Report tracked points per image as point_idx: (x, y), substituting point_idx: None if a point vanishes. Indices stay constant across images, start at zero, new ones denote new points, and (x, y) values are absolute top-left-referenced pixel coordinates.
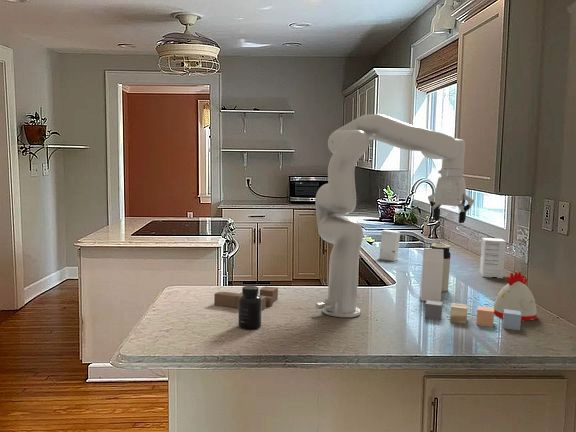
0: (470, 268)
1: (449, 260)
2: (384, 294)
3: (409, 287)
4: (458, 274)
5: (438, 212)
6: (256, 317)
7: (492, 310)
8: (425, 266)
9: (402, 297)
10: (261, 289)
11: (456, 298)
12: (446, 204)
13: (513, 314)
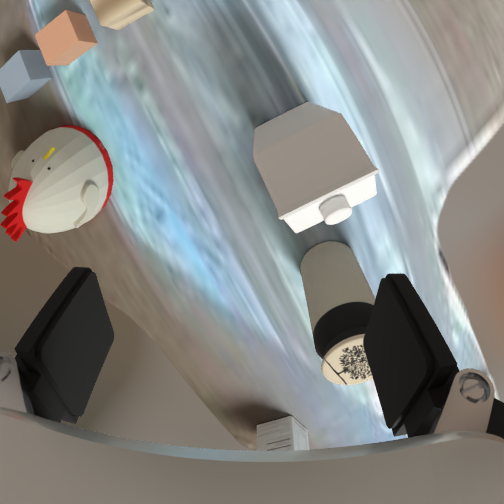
0: (331, 439)
1: (312, 328)
2: (418, 98)
3: (396, 230)
4: (336, 404)
5: (392, 379)
6: None
7: (40, 41)
8: (323, 115)
9: (366, 100)
10: None
11: (244, 212)
12: (205, 460)
13: (6, 63)
